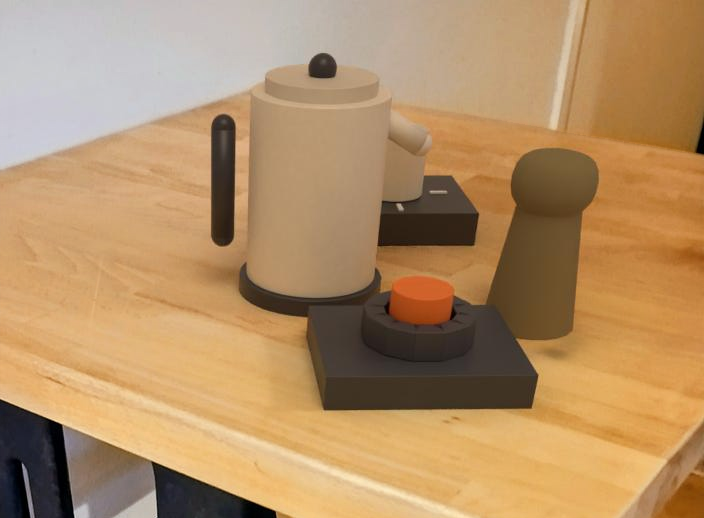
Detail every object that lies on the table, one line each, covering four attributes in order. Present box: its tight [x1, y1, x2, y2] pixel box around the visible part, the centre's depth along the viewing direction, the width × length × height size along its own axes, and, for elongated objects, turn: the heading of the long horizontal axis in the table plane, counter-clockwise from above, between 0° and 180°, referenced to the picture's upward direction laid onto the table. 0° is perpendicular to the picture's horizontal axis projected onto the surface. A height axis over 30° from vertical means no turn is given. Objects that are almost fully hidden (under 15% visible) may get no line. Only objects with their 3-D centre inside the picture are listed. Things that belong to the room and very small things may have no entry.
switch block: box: [305, 289, 540, 412], centre depth 61 cm, size 12×10×4 cm
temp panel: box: [377, 174, 480, 246], centre depth 83 cm, size 12×10×3 cm
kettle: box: [210, 52, 434, 318], centre depth 68 cm, size 14×10×15 cm
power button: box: [389, 275, 455, 324], centre depth 60 cm, size 4×4×2 cm
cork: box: [484, 147, 600, 341], centre depth 65 cm, size 6×6×11 cm
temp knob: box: [382, 121, 430, 202], centre depth 81 cm, size 5×5×5 cm
